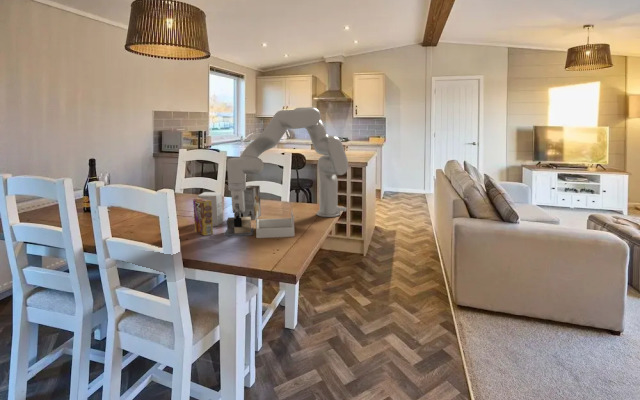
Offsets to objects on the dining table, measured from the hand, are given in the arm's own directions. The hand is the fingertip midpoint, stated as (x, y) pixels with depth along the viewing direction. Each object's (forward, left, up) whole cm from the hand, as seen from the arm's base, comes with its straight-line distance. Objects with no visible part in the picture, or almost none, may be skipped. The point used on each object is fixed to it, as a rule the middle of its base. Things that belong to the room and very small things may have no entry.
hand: (238, 224), depth 171 cm
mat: (0, 0, -4) cm, 4 cm away
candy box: (+15, -1, -4) cm, 16 cm away
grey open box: (-16, +1, -4) cm, 17 cm away
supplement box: (+14, -17, -4) cm, 23 cm away
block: (0, 0, -3) cm, 3 cm away
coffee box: (-5, -27, -4) cm, 28 cm away
